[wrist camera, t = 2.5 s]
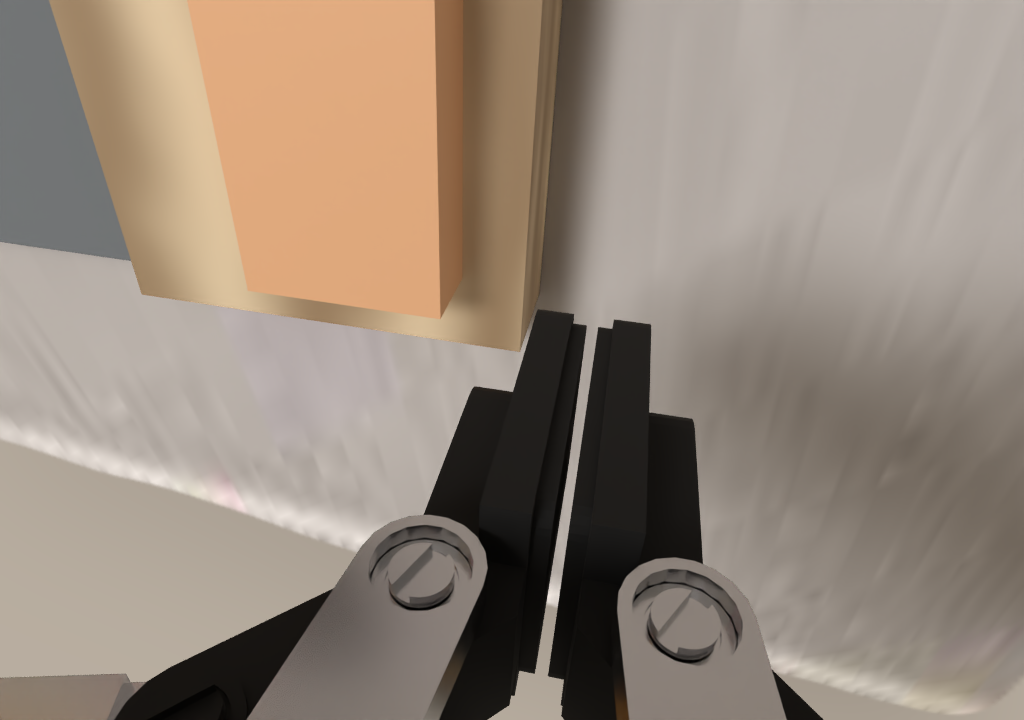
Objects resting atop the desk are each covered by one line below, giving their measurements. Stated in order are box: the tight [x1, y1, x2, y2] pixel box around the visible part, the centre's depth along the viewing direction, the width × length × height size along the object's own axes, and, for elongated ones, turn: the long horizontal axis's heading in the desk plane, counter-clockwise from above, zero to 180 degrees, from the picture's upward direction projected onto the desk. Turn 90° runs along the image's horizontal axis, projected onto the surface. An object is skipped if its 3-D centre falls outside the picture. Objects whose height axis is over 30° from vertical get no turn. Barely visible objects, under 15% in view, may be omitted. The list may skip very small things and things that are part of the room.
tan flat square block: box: [49, 0, 563, 352], centre depth 21 cm, size 14×14×4 cm
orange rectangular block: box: [187, 0, 463, 319], centre depth 18 cm, size 6×9×2 cm, turn 177°
